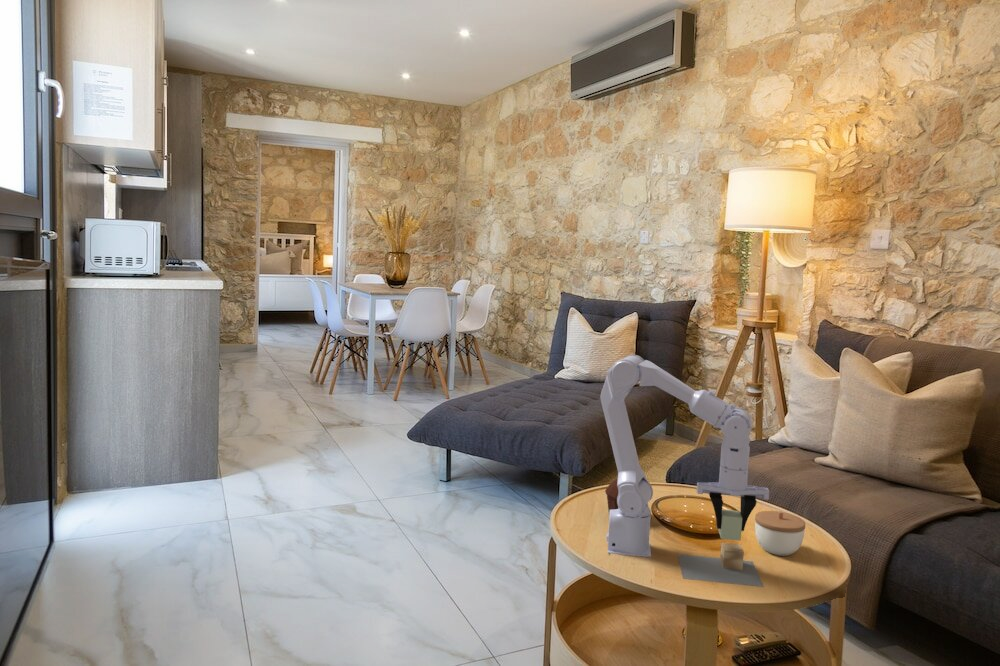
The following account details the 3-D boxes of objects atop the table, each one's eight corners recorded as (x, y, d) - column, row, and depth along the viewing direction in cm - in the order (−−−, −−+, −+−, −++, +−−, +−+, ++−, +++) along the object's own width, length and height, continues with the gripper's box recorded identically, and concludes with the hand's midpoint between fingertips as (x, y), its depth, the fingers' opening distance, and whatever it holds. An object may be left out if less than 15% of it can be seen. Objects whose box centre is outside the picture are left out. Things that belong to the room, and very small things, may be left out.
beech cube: (723, 568, 149) (724, 550, 148) (720, 560, 153) (721, 542, 152) (742, 569, 148) (743, 552, 148) (739, 562, 152) (740, 544, 152)
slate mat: (683, 580, 143) (683, 578, 143) (677, 555, 155) (677, 554, 155) (763, 588, 141) (764, 586, 141) (752, 563, 153) (752, 561, 153)
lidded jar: (772, 563, 153) (775, 522, 152) (743, 543, 163) (746, 505, 162) (813, 559, 156) (816, 519, 155) (782, 540, 166) (785, 502, 165)
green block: (720, 538, 147) (722, 516, 147) (718, 531, 151) (720, 509, 151) (740, 540, 146) (742, 517, 146) (737, 533, 150) (739, 511, 150)
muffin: (599, 509, 183) (601, 472, 182) (640, 508, 184) (642, 472, 183) (611, 526, 171) (613, 487, 170) (655, 526, 172) (657, 487, 171)
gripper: (700, 469, 145) (697, 532, 146) (774, 474, 142) (769, 538, 144) (697, 459, 152) (693, 519, 153) (767, 464, 149) (762, 525, 151)
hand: (729, 528), depth 149 cm, fingers closed on green block, 4 cm apart
